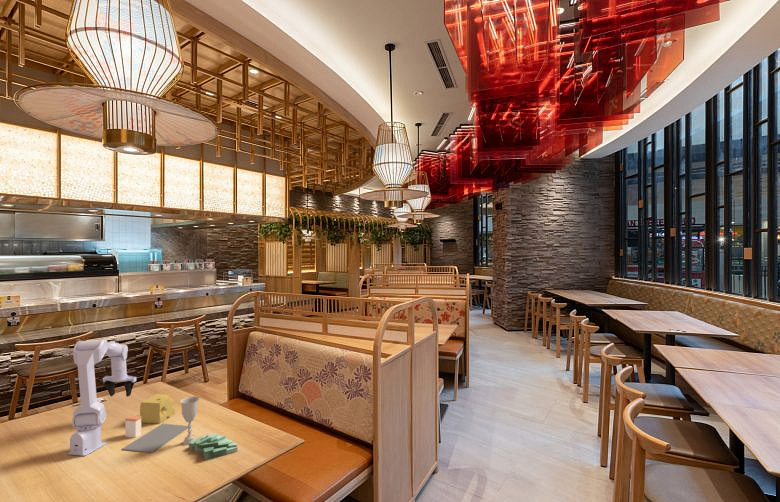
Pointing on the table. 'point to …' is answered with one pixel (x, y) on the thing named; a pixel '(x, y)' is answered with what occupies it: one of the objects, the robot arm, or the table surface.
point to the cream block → (133, 426)
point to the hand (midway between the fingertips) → (120, 395)
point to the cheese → (156, 409)
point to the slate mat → (155, 438)
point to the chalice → (189, 415)
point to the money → (213, 446)
